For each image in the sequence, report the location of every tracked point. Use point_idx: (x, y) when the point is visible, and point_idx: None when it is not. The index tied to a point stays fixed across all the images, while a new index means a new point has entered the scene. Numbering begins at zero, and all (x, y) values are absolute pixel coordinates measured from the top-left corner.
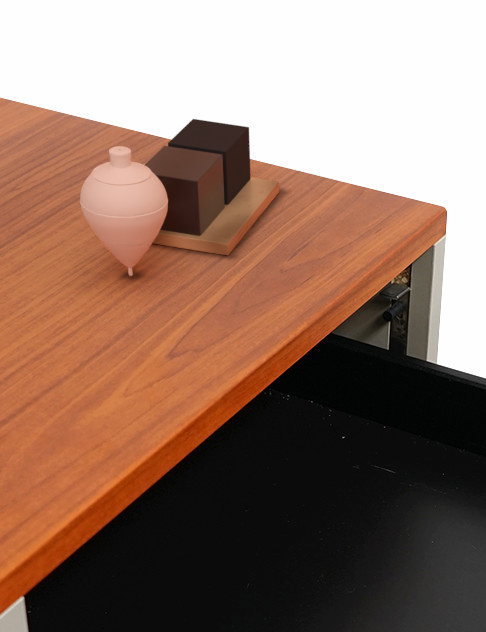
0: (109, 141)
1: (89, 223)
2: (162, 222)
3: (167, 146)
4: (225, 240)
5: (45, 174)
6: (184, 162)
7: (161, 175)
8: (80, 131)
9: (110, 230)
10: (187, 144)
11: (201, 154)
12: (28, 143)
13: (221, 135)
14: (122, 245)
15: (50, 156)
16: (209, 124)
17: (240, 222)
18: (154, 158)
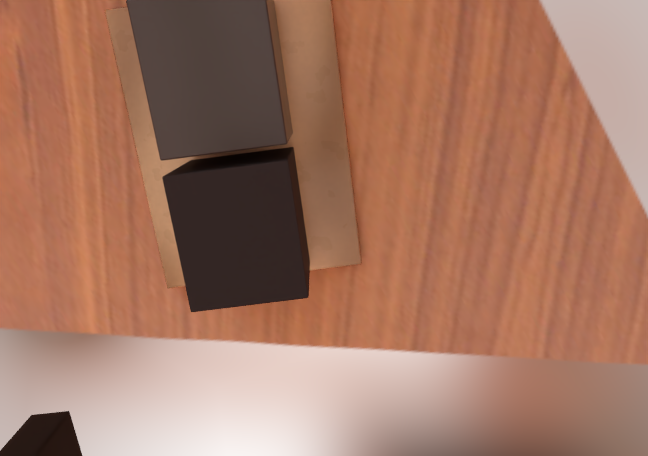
0: (514, 330)
1: None
2: None
3: (279, 142)
4: (115, 21)
5: (550, 164)
6: (202, 80)
7: None
8: (576, 343)
9: None
10: (248, 172)
11: (195, 137)
12: (634, 262)
13: (214, 248)
14: None
15: (576, 233)
16: (264, 286)
17: (133, 104)
18: (268, 69)
